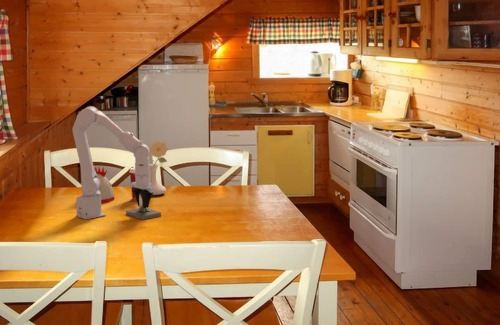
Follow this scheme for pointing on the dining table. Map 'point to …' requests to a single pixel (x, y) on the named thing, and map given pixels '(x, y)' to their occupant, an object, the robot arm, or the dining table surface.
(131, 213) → the block
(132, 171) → the paper cup
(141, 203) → the battery cell
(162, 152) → the flower in vase
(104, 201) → the kitchen timer
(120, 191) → the dining table surface
